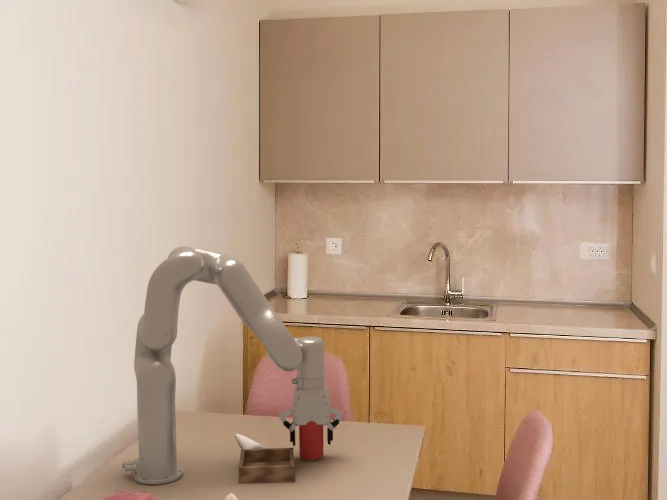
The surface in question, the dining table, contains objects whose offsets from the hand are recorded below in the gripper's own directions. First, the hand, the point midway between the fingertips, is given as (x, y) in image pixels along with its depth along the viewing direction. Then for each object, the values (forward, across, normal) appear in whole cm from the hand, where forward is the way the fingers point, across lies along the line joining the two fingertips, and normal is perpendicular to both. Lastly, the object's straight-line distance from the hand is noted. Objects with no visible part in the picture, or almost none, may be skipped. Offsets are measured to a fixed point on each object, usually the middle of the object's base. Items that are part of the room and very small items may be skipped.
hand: (311, 443), depth 217 cm
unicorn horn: (+4, -18, +9) cm, 21 cm away
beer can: (+4, 0, 0) cm, 4 cm away
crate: (+4, -12, -10) cm, 16 cm away
